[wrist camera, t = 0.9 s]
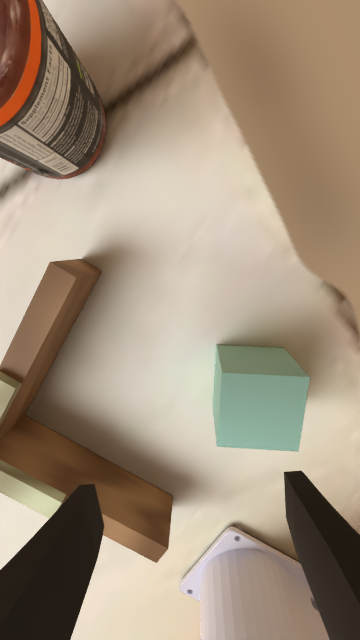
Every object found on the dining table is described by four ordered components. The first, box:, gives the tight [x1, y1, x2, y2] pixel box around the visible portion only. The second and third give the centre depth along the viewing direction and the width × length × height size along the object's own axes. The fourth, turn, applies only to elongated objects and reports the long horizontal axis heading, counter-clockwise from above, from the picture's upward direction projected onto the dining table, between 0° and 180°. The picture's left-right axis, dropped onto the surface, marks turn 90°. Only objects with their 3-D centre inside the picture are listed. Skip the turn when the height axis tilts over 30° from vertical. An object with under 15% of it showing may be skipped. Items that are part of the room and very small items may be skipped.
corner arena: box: [0, 259, 173, 563], centre depth 18 cm, size 14×14×5 cm
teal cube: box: [213, 345, 310, 452], centre depth 17 cm, size 4×4×4 cm
